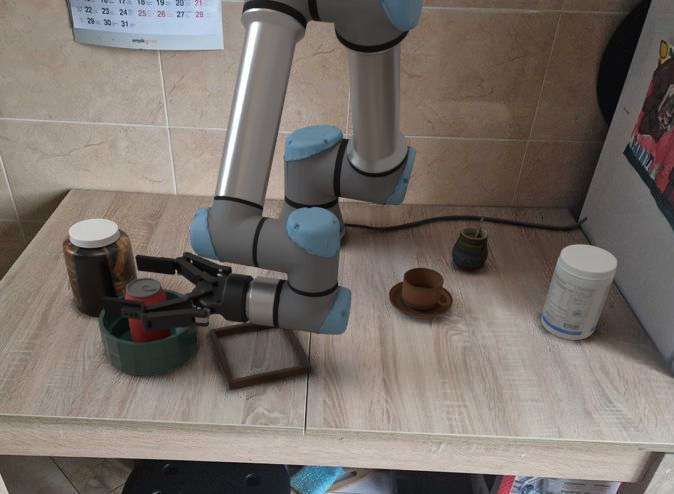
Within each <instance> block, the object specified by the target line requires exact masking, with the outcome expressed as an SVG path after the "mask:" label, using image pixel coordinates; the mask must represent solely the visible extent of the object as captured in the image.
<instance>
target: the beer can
mask: <svg viewBox="0 0 674 494" xmlns="http://www.w3.org/2000/svg"><path fill="white" fill-rule="evenodd" d="M163 289H164V288H163V286H162V283H161V282H160V280H157V279H156V278H152V277H138V278H137V279H136V280H134V281H132V282H130V283H129V284H128V285H127V287H126V294H125V299H128V300H135V301H142V302H145V306H146V305H151V304H155V303H159V302H163V301H166V295H165V292H164V290H163ZM150 313H152V312H150ZM128 320H129V325H130V331H131V336H132V341H133V342H150V341H156V340H161V339H164V338H166V337H169V336H171V329H161V330H151V331H144V330H143V326H142V320H137V319H130V318H128Z"/></svg>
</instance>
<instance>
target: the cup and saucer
mask: <svg viewBox="0 0 674 494" xmlns="http://www.w3.org/2000/svg"><path fill="white" fill-rule="evenodd" d="M444 282H445V280H444V276H443V275H442V274H441V272H438V271H437V270H435V269H433V268H432V269H431V268H427V267H413V268H410V269H408V270H407V271H405V273H404V274H403V281H400V282H397V283H396V284H394V285H393V286H392V287H391V288H390V289H389V292H388V299H389V302H390V304H391V306H393V307H394V309H396V310H397V311H398V312H400V313H402V314H404V315H406V316H408V317H411V318H416V319H433V318H437V317H441V316H443V315H444V314H446V313H448V311H450V309H451V308H452V306H453V303H454V299H453V296H452V293H450V291H449V290H448V289H446V288H445V287H444Z"/></svg>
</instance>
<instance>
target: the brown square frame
mask: <svg viewBox="0 0 674 494" xmlns="http://www.w3.org/2000/svg"><path fill="white" fill-rule="evenodd" d="M270 328H273V327H272V326H265V325H257V324H252V323H251V322H250V321H248V322H246V323H237V324H232V325H226V326H221V327H216V328H210V329H209V330H208V331H209V337H210V340H211V343H212V346H213V349H214V351H215V354H216V358H217V360H218V362H219V366H220V369H221V371H222V375H223V377H224V379H225V382H226V385H227V388H228V390H229V391H230V390H235V389H240V388H244V387H250V386H254V385H259V384H264V383H268V382H275V381H279V380H283V379H288V378H294V377H298V376H303V375H308V374H312V371H313V370H312V367H313V366H312V364H311V362H310V360H309V358H308V356H307V354H306V352H305V351H304V349H303V346H302V344H301V343H300V341H299V339H298V336H297V335H296V333H295V330H291V329H285V328H283V329H284V331H285V333H286V336H287V337H288V339H289V341H290V343H291V345H292V347H293V349H294V351H295V353H296V355H297V357H298V359H299V361H300V363H301V364H299V365H294V366H291V367H290V366H289V367H285V368H281V369H275V370H270V371H265V372H261V373H255V374H250V375H245V376H240V377H236V378H235V377H234V378H232V374H231V372H230V370H229V367H228V363H227V361H226V358H225V355H224V352H223V350H222V347H221V345H220V342H219V339H218V338H221V337H226V336H233V335H237V334H242V333H248V332H255V331H260V330H265V329H270Z"/></svg>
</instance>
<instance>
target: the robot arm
mask: <svg viewBox="0 0 674 494" xmlns="http://www.w3.org/2000/svg"><path fill="white" fill-rule="evenodd" d="M423 3H424V0H243V6H242V11H241V16H240V22H241V25H242V27H243V28H244V29H245V32H244V36H243V37H244V38H243V42H242V49H241V52H240V58H239V64H238V69H237V74H236V79H235V85H234V90H233V96H232V101H231V106H230V110H229V117H228V122H227V127H226V132H225V137H224V142H223V147H222V153H221V158H220V163H219V168H218V174H217V179H216V185H215V190H214V195H213V202H212V205H211V206H207V207H206V206H203V207H199V208H198V209H197V210H196V212H195V213H194V215H193V219H192V220H191V222H190V228H189V243H190V246H191V249H192V251H193V252H194V253H195V254H194V253H192V252H190V251H184V252H183V253H182V256H177V257H175V258H173V257H164V256H153V255H144V254H136V255H135V258H134V259H135V265H136V270H137V271H138V272H145V273H154V274H160V275H161V274H162V275H169V276H175V275H177V277H178V276H182V277H183V278H184V279H186V280H187V281H188V282H190V283H192V284H193V285H194V286H195V287H194V288H193V289H192V290H191V291H190V292H189V291H188V292H186V293H185V294H183V295H184V297H180V298H176V299H172V300H167V301H163V302H159V303H155V304H151V305H146V306H145V302H142V301H135V300H128V299H120V298H113V297H105V296H104V297H103V299H102V301H103V305H104V310H105V313H106V314H113V315H120V316H123V317H124V318H130V319H137V320H142V326H143V330H144V331H151V330H161V329H170V328H179V327H189V326H198V328H199V327H200V328H208V327H209V326H210V317H211V316H212V315H220V316H221V317H222V318H223V319H224V320H225V321H226V322H232V323H233V322H234V323H239V324H242V323H248V322H251V323H252V324H257V325H265V326H272V327H271V328H279V329H284V328H285V329H291V330H293V331H298V332H304V333H311V334H315V335H331V336H339V335H343V334H344V333H345V332H346V331H347V329H348V325H349V320H350V315H351V309H352V308H351V307H352V291H351V289H350V288H348V287H344V286H342V285H339V264H340V251H341V249H342V248H341V247H342V245H341V243H342V242H343V241H344V240H345V237H346V228H354V229H363V230H370V231H393V230H399V229H403V228H409V227H414V226H418V225H423V224H425V223H429V222H435V221H443V220H457V219H461V220H479V221H480V220H481V216H482V215H468V214H467V215H464V214H463V215H462V214H460V215H457V214H456V215H454V214H453V215H441V216H435V217H429V218H425V219H424V218H423V219H421V220H416V221H413V222H407V223H403V224H397V225H390V226H371V225H365V224H356V223H347V222H345V221H344V218H343V214H342V210H341V208H340V203H339V200H340V199H347V200H348V199H349V200H354V201H359V202H366V203H371V204H378V205H381V206H386V205H388V206H400V205H401V204H403V202H404V201H405V198H406V194H407V191H408V187H409V183H410V179H411V175H412V172H413V167H414V163H415V159H416V155H417V149H416V148H415V147H413V146H411V145H408V142H407V138H406V137H405V134H404V133H403V132H402V131H401V130H400V127H401V123H400V122H401V120H400V119H401V46H402V45H401V44H402V43H403V42H405V40H406V39H407V37H408V35H409V33H410V32H411V30H414V29H415V28H416V27H417V26H418V24H419V21H420V19H421V15H422V10H423ZM313 21H314V22H319V23H328V24H333V25H334V34H335V35H334V36H335V38H336V40H337V41H338V43H339V44H340V45H341V46H342V47H343V48H345V49H346V61H347V75H348V86H349V87H348V88H349V98H350V99H349V100H350V111H351V122H352V123H351V124H352V135H351V136H350V138H344V133H343V130H342V129H341V128H340V127H337V126H335V125H330V124H316V125H314V124H313V125H309V126H304V127H300V128H298V129H296V130H294V131H292V132H290V133H289V134H288V136H287V137H286V139H285V141H284V154H283V171H284V172H283V185H284V186H283V191H284V192H283V193H284V199H283V200H284V201H283V205H282V208H281V211H280V213H279V216H278V218H273V217H267V216H264V215H263V214H264V207H265V202H266V198H267V197H266V196H267V192H268V187H269V182H270V176H271V172H272V167H273V161H274V157H275V152H276V147H277V142H278V137H279V132H280V126H281V121H282V117H283V111H284V106H285V101H286V100H285V99H286V96H287V90H288V86H289V81H290V76H291V70H292V65H293V62H294V55H295V50H296V45H297V44H298V43H299V42H301V41H302V40H303V39H304V38H305V36H306V31H307V26H308V24H309V23H310V22H313ZM339 198H340V199H339ZM483 221H490V222H496V223H497V222H498V223H507V224H514V225H520V226H525V227H533V228H534V227H535V228H543V229H550V230H551V229H552V230H572V229H575V228H577V227H579V226H581V225H583V224H584V223H585V222H586V221H588V220H587V216H585V217H583V218H582V219H580V220H579V221H578V222H576V223H573V224H570V225H553V224H544V223H535V222H527V221H522V220H521V221H520V220H514V219H507V218H499V217H491V216H485V217H484V220H483ZM212 260H213V261H212ZM214 261H218V262H219V263H222V264H219V263H217V262H214ZM224 263H229V264H234V265H240V266H245V267H251V268H257V269H262V270H266V271H272V272H277V273H282V274H286V276H287V277H286V278H287V279H281V278H274V277H268V276H260V275H258V276H257V275H256V276H255V277H253V276H252V275H249V274H244V273H243V274H242V273H233V267H232V266H229V265H223V264H224ZM192 303H193V305H194V306H195V307H192ZM150 312H152V313H150ZM285 329H284V330H285Z"/></svg>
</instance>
